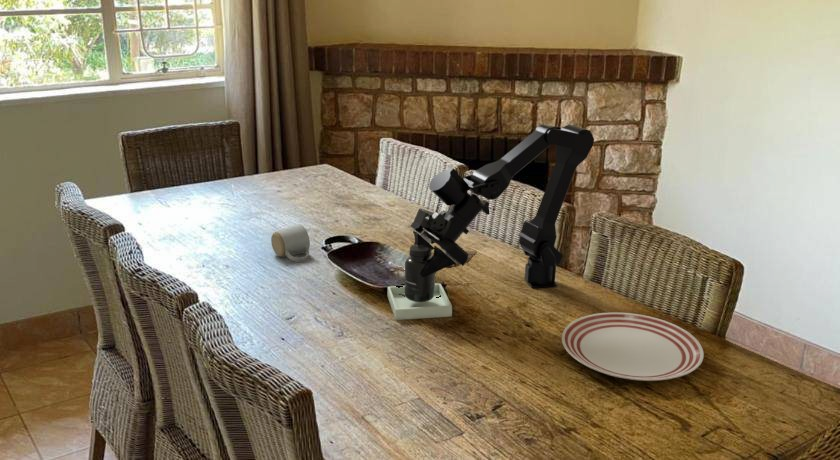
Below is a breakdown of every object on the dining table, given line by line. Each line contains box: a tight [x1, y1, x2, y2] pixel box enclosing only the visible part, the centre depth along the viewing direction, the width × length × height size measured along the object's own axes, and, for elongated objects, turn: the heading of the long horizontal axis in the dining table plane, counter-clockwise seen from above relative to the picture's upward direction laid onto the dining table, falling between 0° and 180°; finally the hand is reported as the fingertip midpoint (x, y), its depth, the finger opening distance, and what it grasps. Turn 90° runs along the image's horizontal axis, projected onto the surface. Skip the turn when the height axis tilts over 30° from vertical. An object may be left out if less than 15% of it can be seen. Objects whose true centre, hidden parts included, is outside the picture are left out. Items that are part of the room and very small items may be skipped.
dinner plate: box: [561, 312, 705, 382], centre depth 154 cm, size 28×27×3 cm
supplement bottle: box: [404, 244, 436, 302], centre depth 173 cm, size 7×7×12 cm
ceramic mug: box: [270, 223, 311, 263], centre depth 202 cm, size 11×8×8 cm
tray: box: [387, 283, 453, 321], centre depth 175 cm, size 13×13×2 cm
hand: (414, 270), depth 172 cm, fingers closed on supplement bottle, 7 cm apart
